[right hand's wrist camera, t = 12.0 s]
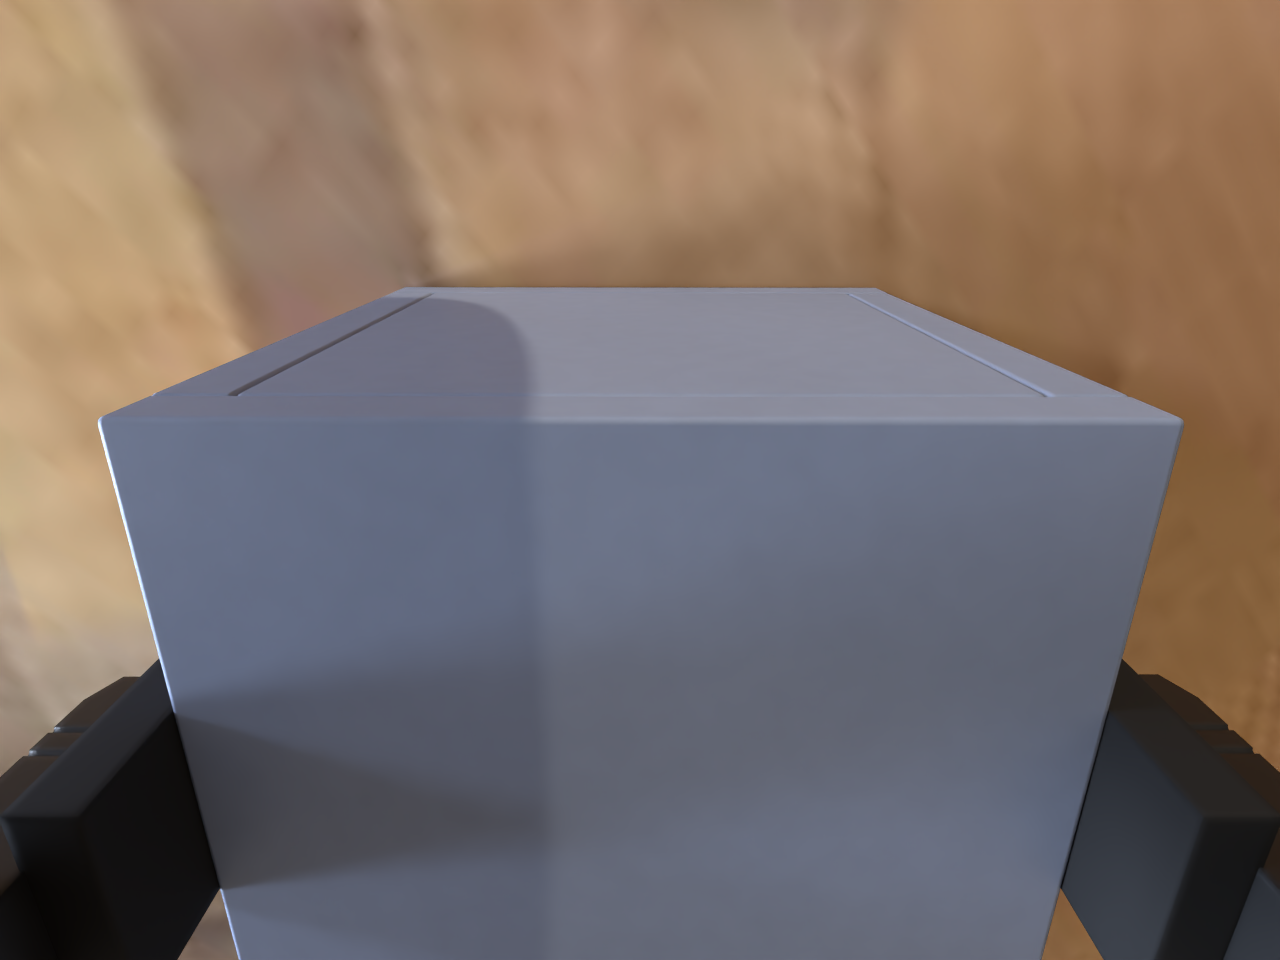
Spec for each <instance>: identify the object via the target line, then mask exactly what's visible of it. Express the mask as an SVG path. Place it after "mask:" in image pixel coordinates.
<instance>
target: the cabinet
mask: <svg viewBox="0 0 1280 960" xmlns="http://www.w3.org/2000/svg"><path fill="white" fill-rule="evenodd" d="M98 427H99V430H100V434H101V438H102V442H103V445H104V449H105V453H106V457H107V461H108V464H109V468H110V472H111V476H112V480H113V483H114V487H115V491H116V495H117V499H118V502H119V506H120V510H121V514H122V518H123V521H124V525H125V529H126V533H127V537H128V540H129V544H130V548H131V552H132V556H133V559H134V563H135V567H136V571H137V575H138V578H139V582H140V586H141V590H142V594H143V597H144V601H145V605H146V609H147V613H148V616H149V620H150V624H151V628H152V632H153V635H154V639H155V643H156V647H157V651H158V654H159V658H160V662H161V666H162V670H163V673H164V677H165V681H166V685H167V689H168V692H169V696H170V700H171V704H172V708H173V711H174V715H175V719H176V723H177V726H178V730H179V734H180V738H181V742H182V745H183V749H184V753H185V757H186V761H187V764H188V768H189V772H190V776H191V780H192V783H193V787H194V791H195V795H196V799H197V802H198V806H199V810H200V814H201V818H202V821H203V825H204V829H205V833H206V837H207V840H208V844H209V848H210V852H211V856H212V859H213V863H214V867H215V871H216V875H217V878H218V882H219V886H220V890H221V894H222V897H223V901H224V905H225V909H226V913H227V916H228V920H229V924H230V928H231V932H232V935H233V939H234V943H235V947H236V951H237V954H238V958H239V960H1041V959H1042V955H1043V951H1044V948H1045V944H1046V940H1047V936H1048V933H1049V929H1050V925H1051V922H1052V918H1053V914H1054V910H1055V907H1056V903H1057V899H1058V895H1059V892H1060V888H1061V884H1062V880H1063V877H1064V873H1065V869H1066V865H1067V862H1068V858H1069V854H1070V850H1071V847H1072V843H1073V839H1074V836H1075V832H1076V828H1077V824H1078V821H1079V817H1080V813H1081V809H1082V806H1083V802H1084V798H1085V794H1086V791H1087V787H1088V783H1089V779H1090V776H1091V772H1092V768H1093V764H1094V761H1095V757H1096V753H1097V750H1098V746H1099V742H1100V738H1101V735H1102V731H1103V727H1104V723H1105V720H1106V716H1107V712H1108V708H1109V705H1110V701H1111V697H1112V693H1113V690H1114V686H1115V682H1116V678H1117V675H1118V671H1119V667H1120V664H1121V660H1122V656H1123V652H1124V649H1125V645H1126V641H1127V637H1128V634H1129V630H1130V626H1131V622H1132V619H1133V615H1134V611H1135V607H1136V604H1137V600H1138V596H1139V593H1140V589H1141V585H1142V581H1143V578H1144V574H1145V570H1146V566H1147V563H1148V559H1149V555H1150V551H1151V548H1152V544H1153V540H1154V536H1155V533H1156V529H1157V525H1158V521H1159V518H1160V514H1161V510H1162V507H1163V503H1164V499H1165V495H1166V492H1167V488H1168V484H1169V480H1170V477H1171V473H1172V469H1173V465H1174V462H1175V458H1176V454H1177V450H1178V447H1179V443H1180V439H1181V435H1182V432H1183V428H1184V421H1183V420H1182V419H1181V418H1179V417H1177V416H1175V415H1172V414H1170V413H1168V412H1165V411H1163V410H1160V409H1158V408H1156V407H1153V406H1151V405H1149V404H1146V403H1144V402H1142V401H1139V400H1137V399H1135V398H1132V397H1128V396H1127V395H1125V394H1123V393H1120V392H1118V391H1116V390H1113V389H1111V388H1109V387H1106V386H1104V385H1101V384H1099V383H1097V382H1094V381H1092V380H1090V379H1087V378H1085V377H1083V376H1080V375H1078V374H1076V373H1073V372H1071V371H1068V370H1066V369H1064V368H1061V367H1059V366H1057V365H1054V364H1052V363H1050V362H1047V361H1045V360H1043V359H1040V358H1038V357H1036V356H1033V355H1031V354H1028V353H1026V352H1024V351H1021V350H1019V349H1017V348H1014V347H1012V346H1010V345H1007V344H1005V343H1003V342H1000V341H998V340H996V339H993V338H991V337H988V336H986V335H984V334H981V333H979V332H977V331H974V330H972V329H970V328H967V327H965V326H963V325H960V324H958V323H955V322H953V321H951V320H948V319H946V318H944V317H941V316H939V315H937V314H934V313H932V312H930V311H927V310H925V309H923V308H920V307H918V306H915V305H913V304H911V303H908V302H906V301H904V300H901V299H899V298H897V297H894V296H892V295H890V294H887V293H886V292H883V291H881V290H879V289H876V288H568V287H405V288H403V289H400V290H398V291H395V292H393V293H391V294H389V295H386V296H384V297H382V298H379V299H377V300H374V301H372V302H370V303H367V304H365V305H363V306H360V307H358V308H356V309H353V310H351V311H348V312H346V313H344V314H341V315H339V316H337V317H334V318H332V319H330V320H327V321H325V322H323V323H320V324H318V325H315V326H313V327H311V328H308V329H306V330H304V331H301V332H299V333H297V334H294V335H292V336H289V337H287V338H285V339H282V340H280V341H278V342H275V343H273V344H271V345H268V346H266V347H263V348H261V349H259V350H256V351H254V352H252V353H249V354H247V355H245V356H242V357H240V358H238V359H235V360H233V361H230V362H228V363H226V364H223V365H221V366H219V367H216V368H214V369H212V370H209V371H207V372H204V373H202V374H200V375H197V376H195V377H193V378H190V379H188V380H186V381H183V382H181V383H178V384H176V385H174V386H171V387H169V388H167V389H164V390H162V391H160V392H157V393H155V394H153V395H152V396H149V397H147V398H145V399H142V400H140V401H138V402H135V403H133V404H130V405H128V406H126V407H123V408H121V409H119V410H116V411H114V412H112V413H109V414H107V415H105V416H102V417H100V419H99V420H98Z"/></svg>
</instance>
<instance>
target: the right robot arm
mask: <svg viewBox="0 0 1280 960" xmlns="http://www.w3.org/2000/svg"><path fill="white" fill-rule="evenodd" d="M29 751H30V753H29V755H28V756H23V757H22V758H21V759H20V760H18V761H17V762H16V763H15V764H14V765H13V766H12V767H11V768H10V769H9V770H8V771H7V772H5V773H4V774H3V775H2V776H1V777H0V960H177V959H178V957H179V956H180V954H181V952H182V951H183V949H184V947H185V946H186V944H187V942H188V941H189V939H190V937H191V936H192V934H193V932H194V931H195V929H196V927H197V926H198V924H199V922H200V921H201V919H202V917H203V915H204V914H205V912H206V910H207V909H208V907H209V905H210V904H211V902H212V900H213V899H214V897H215V895H216V894H217V892H218V890H219V889H220V886H219V882H218V878H217V875H216V871H215V867H214V863H213V859H212V856H211V852H210V848H209V844H208V840H207V837H206V833H205V829H204V825H203V821H202V818H201V814H200V810H199V806H198V802H197V799H196V795H195V791H194V787H193V783H192V780H191V776H190V772H189V768H188V764H187V761H186V757H185V753H184V749H183V745H182V742H181V738H180V734H179V730H178V726H177V723H176V719H175V715H174V711H173V708H172V704H171V700H170V696H169V692H168V689H167V685H166V681H165V677H164V673H163V670H162V666H161V662H160V658H159V659H158V660H157V661H156V662H155V663H154V664H153V665H152V666H151V667H150V668H149V669H148V670H147V671H146V672H145V673H144V674H143V675H142V676H141V677H123V678H121V679H119V680H117V681H116V682H114V683H112V684H111V685H109V686H107V687H105V688H104V689H102V690H100V691H99V692H97V693H95V694H93V695H92V696H90V697H88V698H87V699H85V700H83V701H82V702H81V703H80V704H79V705H78V706H77V707H76V708H75V709H74V710H73V711H71V712H70V713H69V714H68V715H67V716H66V717H65V718H64V719H63V720H62V721H61V722H60V723H58V724H57V725H56V726H55V727H54V732H53V733H48V734H47V735H45V736H44V737H43V738H42V739H41V740H40V741H39V742H38V743H37V744H36V745H35V746H34V747H32V748H31V749H30V750H29ZM1061 889H1062V891H1063V892H1064V894H1065V896H1066V897H1067V899H1068V901H1069V902H1070V904H1071V906H1072V907H1073V909H1074V911H1075V912H1076V914H1077V916H1078V918H1079V919H1080V921H1081V923H1082V924H1083V926H1084V928H1085V929H1086V931H1087V933H1088V934H1089V936H1090V938H1091V939H1092V941H1093V943H1094V944H1095V946H1096V948H1097V949H1098V951H1099V953H1100V954H1101V956H1102V958H1103V959H1104V960H1280V772H1278V771H1277V770H1276V769H1275V768H1274V767H1273V766H1272V765H1271V764H1270V763H1269V762H1268V761H1266V760H1265V759H1264V758H1263V757H1262V756H1261V755H1260V754H1254V753H1253V748H1252V747H1251V746H1250V745H1249V744H1248V743H1247V742H1246V741H1245V740H1244V739H1243V738H1241V737H1240V736H1239V735H1238V734H1237V733H1236V732H1235V731H1234V730H1228V725H1227V724H1226V723H1225V722H1224V721H1223V720H1222V719H1221V718H1220V717H1219V716H1217V715H1216V714H1215V713H1214V712H1213V711H1212V710H1211V709H1210V708H1209V707H1208V706H1207V705H1205V704H1204V703H1203V702H1202V701H1201V700H1200V699H1199V698H1198V697H1196V696H1194V695H1193V694H1191V693H1189V692H1187V691H1186V690H1184V689H1182V688H1180V687H1179V686H1177V685H1175V684H1174V683H1172V682H1170V681H1168V680H1167V679H1165V678H1163V677H1161V676H1160V675H1141V674H1137V673H1136V672H1135V671H1134V670H1133V669H1132V668H1131V667H1130V666H1129V665H1128V664H1127V663H1126V662H1125V661H1124V660H1123V659H1122V660H1121V664H1120V667H1119V671H1118V675H1117V678H1116V682H1115V686H1114V690H1113V693H1112V697H1111V701H1110V705H1109V708H1108V712H1107V716H1106V720H1105V723H1104V727H1103V731H1102V735H1101V738H1100V742H1099V746H1098V750H1097V753H1096V757H1095V761H1094V764H1093V768H1092V772H1091V776H1090V779H1089V783H1088V787H1087V791H1086V794H1085V798H1084V802H1083V806H1082V809H1081V813H1080V817H1079V821H1078V824H1077V828H1076V832H1075V836H1074V839H1073V843H1072V847H1071V850H1070V854H1069V858H1068V862H1067V865H1066V869H1065V873H1064V877H1063V880H1062V884H1061Z"/></svg>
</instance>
